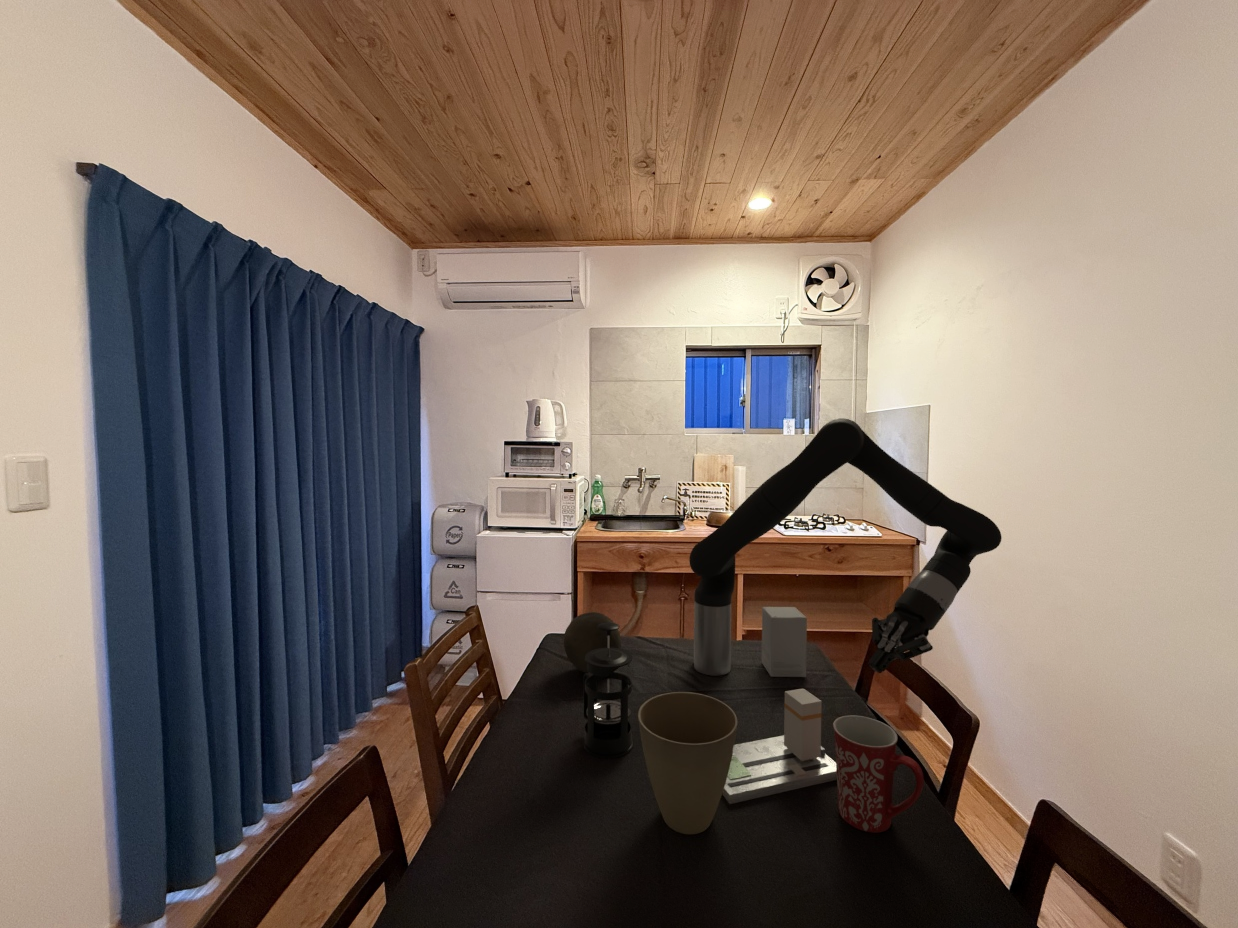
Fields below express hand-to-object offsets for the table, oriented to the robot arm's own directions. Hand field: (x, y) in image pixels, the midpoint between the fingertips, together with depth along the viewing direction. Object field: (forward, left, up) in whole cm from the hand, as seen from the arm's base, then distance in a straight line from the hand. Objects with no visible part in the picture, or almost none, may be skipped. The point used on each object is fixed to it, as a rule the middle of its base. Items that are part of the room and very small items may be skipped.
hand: (874, 669), depth 97 cm
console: (0, -23, -15) cm, 27 cm away
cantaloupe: (-46, -43, -15) cm, 65 cm away
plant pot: (+7, -42, -15) cm, 45 cm away
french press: (-16, -48, -15) cm, 53 cm away
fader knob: (0, -16, -13) cm, 20 cm away
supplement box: (-34, +4, -15) cm, 37 cm away
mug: (+16, -15, -15) cm, 27 cm away
